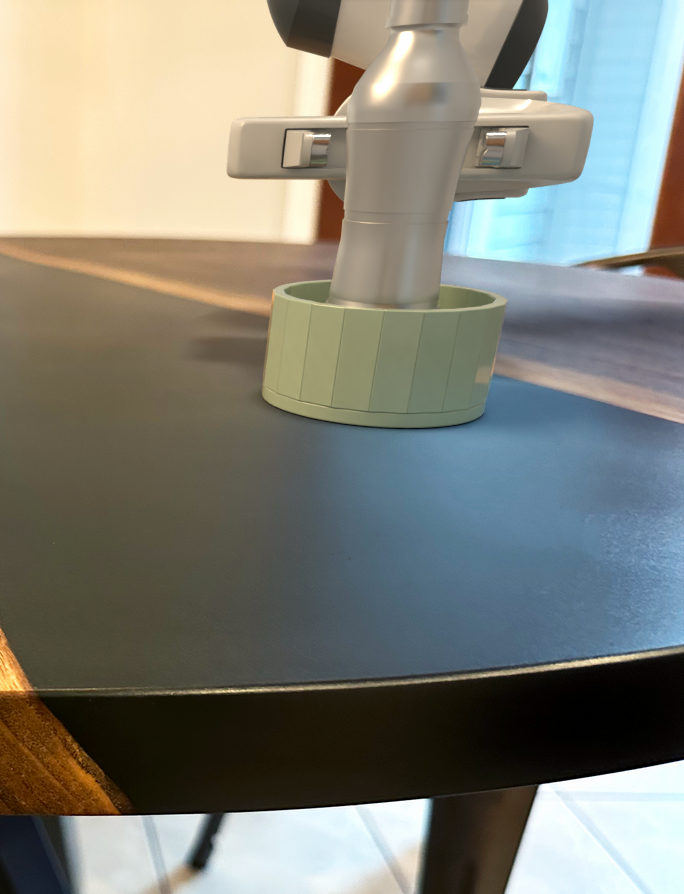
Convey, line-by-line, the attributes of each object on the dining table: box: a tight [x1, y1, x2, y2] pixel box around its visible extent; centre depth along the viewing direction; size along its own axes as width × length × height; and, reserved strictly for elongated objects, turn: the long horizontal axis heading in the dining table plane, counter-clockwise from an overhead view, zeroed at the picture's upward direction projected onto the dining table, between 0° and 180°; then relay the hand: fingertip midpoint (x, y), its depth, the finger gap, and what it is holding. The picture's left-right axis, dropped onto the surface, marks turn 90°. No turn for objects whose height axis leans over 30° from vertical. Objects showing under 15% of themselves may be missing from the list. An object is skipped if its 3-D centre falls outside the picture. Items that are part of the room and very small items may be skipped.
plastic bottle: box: [325, 0, 482, 310], centre depth 54 cm, size 6×7×20 cm
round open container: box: [261, 279, 509, 429], centre depth 57 cm, size 12×12×6 cm
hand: (404, 149), depth 57 cm, fingers open, 8 cm apart
